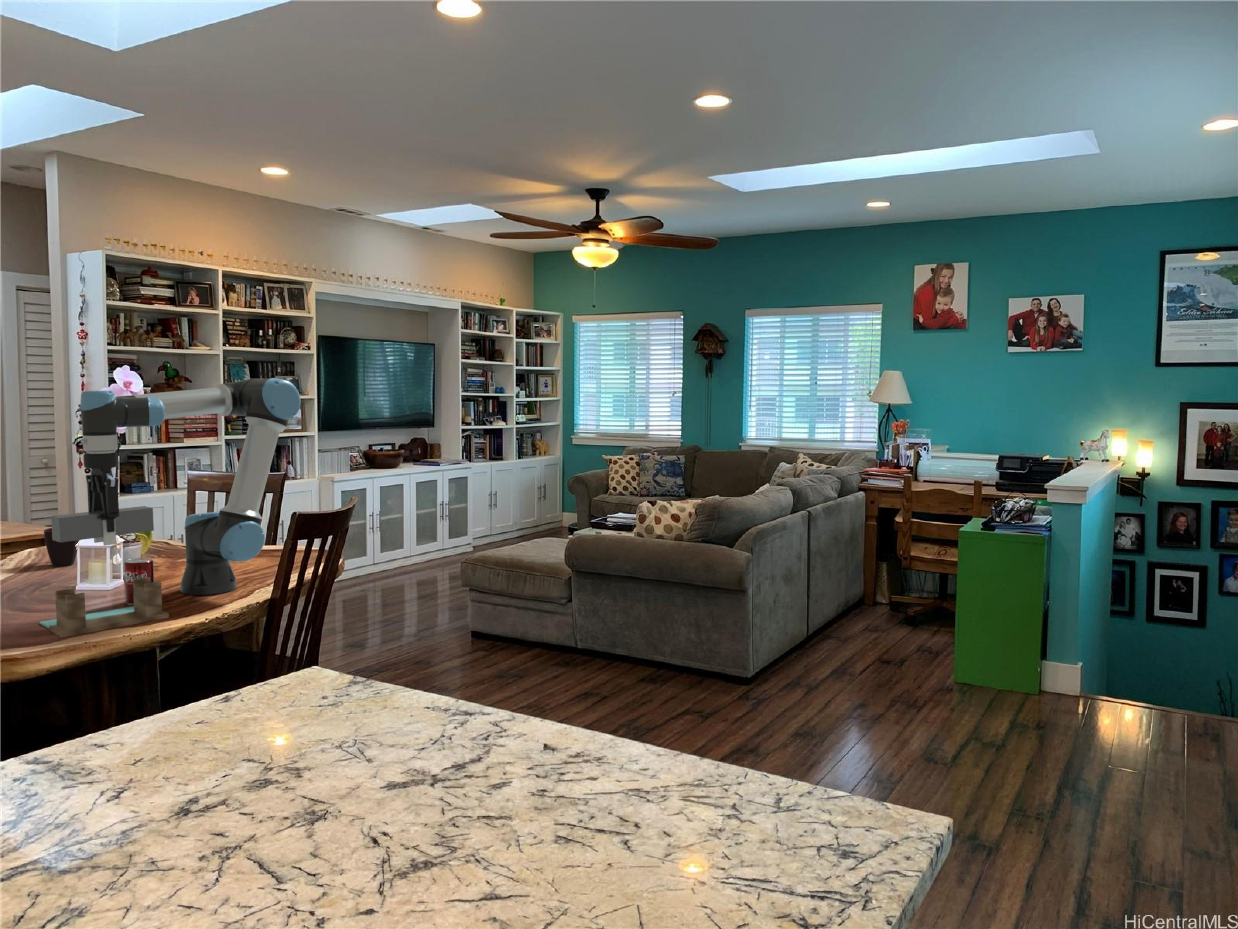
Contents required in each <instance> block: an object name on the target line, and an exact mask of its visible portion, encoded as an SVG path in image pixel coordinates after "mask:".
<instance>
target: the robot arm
mask: <svg viewBox="0 0 1238 929" xmlns="http://www.w3.org/2000/svg"><path fill="white" fill-rule="evenodd" d="M301 401H302V400H301V396H300V393H299V391H298V389H297V388H296V386H295V385H294V384H293V383H292V382H291V381H290V380H289V381H288V380H287V379H286V380H285V379H280V378H276V377H272V378H255V377H254V378H249V379H242V380H237V381H232V382H228V383H227V382H225V383H218V384H216V385H215V387H209V388H208V387H206V388H198V389H187V390H186V389H185V390H175V391H174V390H173V391H164V392H163V391H162V392H161V391H160V392H151V393H141V394H132V395H118V396H116V393H115V391H113V390H84V391H82V392H81V394H80V409H79V411H80V414H81V417H80V418H81V431H82V432H81V434H82V439H81V440H80V443H81V444H82V450H83V451H84V454H83V456H82V457H83V467H84V468H85V469H91V471H90V474H86V475H85V479H86V485H87V486H86V488H87V505H88V506H87V508H88V511H87V512H93V511H102V510H103V515H104V517H102V518H101V520H102V523H103V537H99V538H93V540H94V541H93V542H94V543H95V544H96V543H102V544H103V546H113V545H116V544H117V535H116V529H115V519H116V517H119V509H120V504H119V489H118V486H119V477H118V478H117V477H114V474H113V471H112V469H114V468H117V467H118V466H119V455H118V453H117V452H116V451H117V450H118V449H119V448H118V447H119V445H118V432H117V431H118V430H117V429H118V428H133V427H134V428H139V427H148V428H150V427H156V426H160V425H162V424H163V422H164V420H169V419H170V420H171V419H179V418H187V417H196V416H197V417H198V416H206V415H208V416H209V415H215V414H219V415H220V416H222V417H229V416H242V417H245V418H244V419H245V421H246V422H247V424H248V428H247V432H246V435H245V438H244V443H243V446H242V450H241V452H240V457H239V461H238V464H237V467H236V472H235V475H234V479H233V483H232V486H231V490H230V494H229V497H228V501H227V504H226V505H225V506H224V507H222V508H220V509H219V511H212V512H211V511H210V512H203V513H202V512H201V513H193V514H189V515H187V516H186V517H185V520H184V536H185V537H184V538H185V564H186V565H185V568H184V571H183V575H182V578H181V581H180V584H179V586H180V588H179V590H180V593H181V594H184V595H192V596H202V595H203V596H207V595H209V596H210V595H218V594H223V593H229V592H231V591H234V590H235V589H237V578H236V576H235V574H234V571H233V568H232V565H231V563H230V562H235V563H236V562H248V561H251V560H252V559H254V558H255V557H256V556H257V555H258V554H259V553H260V552H261V551H262V549H263V547H264V546H265V545H264V544H265V541H266V535H265V532H264V529H263V528H262V526H261V524H262V521H263V517H262V515H261V514H260V511H259V510H260V507H261V504H262V500H263V496H264V492H265V489H266V488H265V487H266V484H267V480H268V477H269V473H270V471H271V470H270V469H271V466H272V462H273V458H274V455H275V452H276V451H275V450H276V447H277V443H278V439H279V436H280V433H281V432H283V431H284V430H286V429H287V427H288V423H289V420H290V419H293V417H295V416H297V414H298V412H299V411H300V408H301Z"/></svg>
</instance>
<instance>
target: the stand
mask: <svg viewBox="0 0 1238 929" xmlns="http://www.w3.org/2000/svg"><path fill="white" fill-rule="evenodd" d="M75 590H76V589H75V588H66V589H60V590H59V589H58V590H55V592H54V593H55V611H56V612H55V613H56V614H55V616H56V618H55V619H57V625H53V626H49V632H51V633H53V634H55V635H56V636H58V637H60V638H64V637H71V636H77V635H82V634H87V633H94V632H98V631H99V632H100V631H105V630H109V629H110V630H111V629H115V628H120V627H127V626H133V625H139V624H143V623H144V624H145V623H147V622H148V623H149V622H154V621H160V620H164V619H169V618H170V613H168V612H166V611H164V610H163V598H162V597H163V596H162V595H163V594H162V591H163V590H162V581H161V580H158V581H154V582H151V583H150V577H147V578H140V579H134V580H133V594H134V605H133V606H134V612H128V613H123V614H117V615H111V616H105V617H99V618H93V619H88V620H86V615H85V614H86V597H85V596H86V595H85V594H86V593H85V592H80V593H76V592H75Z"/></svg>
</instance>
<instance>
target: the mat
mask: <svg viewBox="0 0 1238 929" xmlns="http://www.w3.org/2000/svg"><path fill="white" fill-rule="evenodd" d="M128 612H134V605H131V606H127V607H126V606H125V607H121V608H116V609H114V608H113V609H108V610H103V611H97V612H91V613H85V615H86V620H88V619H93V618H99V617H105V616H111V615H117V614H123V613H128ZM38 624H40V625H41V626H43V627H45V628H46V629H49V626H53V625H57V618H54V619H49V620H42V621H39V622H38ZM49 630H50V629H49Z"/></svg>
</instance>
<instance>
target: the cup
mask: <svg viewBox="0 0 1238 929" xmlns="http://www.w3.org/2000/svg"><path fill="white" fill-rule="evenodd" d="M43 534H44V535H43V536H44V537H43V538H44V543H45V546H46V550H47V554H48V558H49V561H50V563H51V566H53V567H58V568H59V567H69V566H73V565H74V563H75V561H76V558H77V554H78V549H77V550H76V547H75V545H76V544H77V543H78V542H80V540H76V541H68V542H57V541H54V540H52V527H51V528H50V527H49V528H46V529H44V530H43ZM78 544H79V543H78Z"/></svg>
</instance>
